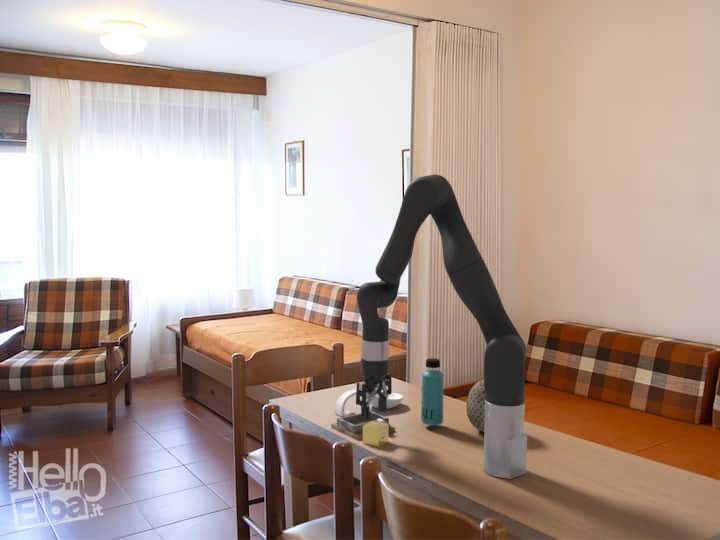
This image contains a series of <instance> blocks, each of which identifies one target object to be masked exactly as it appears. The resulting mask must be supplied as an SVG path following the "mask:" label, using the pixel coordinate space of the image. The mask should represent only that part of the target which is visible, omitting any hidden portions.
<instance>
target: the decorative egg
mask: <svg viewBox="0 0 720 540" xmlns="http://www.w3.org/2000/svg"><path fill="white" fill-rule="evenodd" d="M465 409H466V415H467V418H468V420H469V422H470V423H471V425H472V426H473V427H474V428H475V429H477V430H478V431H480V432H483V433H484V424H485V390H484V379H481V380H479V381H478V382H476V383H475V384H474V385H473V386H472V388H471V389H470V391H469V393H468V396H467V399H466V406H465Z"/></svg>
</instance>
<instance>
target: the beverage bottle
mask: <svg viewBox="0 0 720 540" xmlns="http://www.w3.org/2000/svg"><path fill="white" fill-rule="evenodd" d="M440 361H441V359H439V358H433V357H432V358H431V357H430V358H426V360H425V368H429V369H425V370H424V371H423V372H422V374H421V377H422V379H421V401H420V402H421V407H420V408H421V410H420V411H421V412H420V414H421V416H420V417H421V422H422V424H424V425H428V426H439V425H442V424H443V423H444V375H445V374H444V373H443V372H442V371H440V369H437V368H440V367H441V362H440Z"/></svg>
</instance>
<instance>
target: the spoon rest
mask: <svg viewBox="0 0 720 540" xmlns="http://www.w3.org/2000/svg"><path fill="white" fill-rule="evenodd" d="M356 389H357V388H352V389H349V390H347V391H345V392H343V394H341V395H340V397H338V399H337V400H336V403H335V405H334V410H333V412H334V413H333V414H335V415H338V416H339V417H340V418H342V417H345V416H344V414H345V407H346V403H347V402H348V400H349V399H350V398H352V397H354V396H356ZM367 394H368V393H367ZM369 395H370V394H369ZM378 398H380V397H379V396H378V394H376V395H375V396H374V399H372V400H371V403H370V406H371V405H372V407H374V408H375V409H377V410H378ZM367 400H368V398H366V401H367ZM403 400H404V396H403V395H402V394H400V393H396V392H392V393H391V395H388V398H387V402H386V410H390V409H393V408H396V407H397V406H398V405H400V404H401V403H402V402H403Z"/></svg>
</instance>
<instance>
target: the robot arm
mask: <svg viewBox="0 0 720 540" xmlns="http://www.w3.org/2000/svg"><path fill="white" fill-rule="evenodd" d="M429 216H431V218H432V220H433V221H434V224H435V225H436V228H437V230H438V232H439V235H440V240H441V245H442V257H443V259H442V260H443V266H444V268H445V273H446V275H447V276H448V278H449V280H450V282H451V284H452V287H453V289H454V291H455V293H456V294H457V296H458V297H459V298H460V300H461V301H462V303H463V304H464V306H465V307H466V308H467V310H469V312H470V313H471V314H472V316H473V317H474V318H475V320H476V322H477V324H478V326H479V328H480V331H481V334H482V335H483V339H484V341H485V344H486V346H485V347H486V348H485V351H484V357H483V358H484V359H483V380H484V390H485V424H484V432H483V433H484V434H483V435H484V436H483V471H484V472H485V473H486V474H488V475H489V476H493V477H497V478H502V479H507V480H513V479H515V478H517V477H521V476H523V475H526V474H527V460H528V459H527V454H528V451H527V450H528V436H527V434H525V433H524V432H525V404H526V403H525V399H526V397H525V394H526V391H525V365H526V363H525V362H526V358H527V346H526V343H525V341H524V339H523V338H522V337H521V335H520V332H519V331H518V330H517V328H516V326H515V325H514V324H513V321H512V320H511V319H510V317H509V315H508V314H507V311H506V309H505V307H504V305H503V303H502V300H501V297H500V295H499V292H498V289H497V287H496V284H495V281H494V280H493V278H492V276H491V275H492V274H491V273H490V271H489V267H488V266H487V265H486V263H485V259H484V258H483V256H482V254H481V253H480V251H479V249H478V247H477V244H476V243H475V240H474V238H473V236H472V233H471V232H470V229H469V228H468V225H467V224H466V222H465V219H464V217H463V214H462V211H461V208H460V206H459V203H458V199H457V197H456V194H455V192H454V189H453V187H452V185H451V184H450V182H449V181H448V180H447V178H446V177H444V176H442V175H439V174H430V175H429V174H428V175H424V176H419V177H417V178H414V179H412V181H410V182H409V184H408V185H407V187H406V190H405V192H404V196H403V198H402V201H401V206H400V209H399V212H398V215H397V218H396V221H395V224H394V227H393V229H392V233H391V235H390V236H389V240H388V242H387V243H386V246H385V248H384V249H383V252H382V254H381V256H380V258H379V260H378V262H377V263H376V267H375V275H376V276H377V278H378V279H379V281H372V282H371V281H370V282H365V283H362V284H361V285H360V286H359V288H358V290H357V292H356V302H357V303H356V304H357V307H358V311H359V316H360V318H361V319H360V320H361V323H362V334H361V335H362V336H361V337H362V339H361V340H362V341H361V347H360V348H361V349H360V351H361V352H360V373H361V374H362V375H363V376H364V379H363V381H362V382H360V381H357V383H356V388H355V389H356V395H355V405H357V406H360V413H361V419H362V420H366V421H367V420H369V419H370V411H371V409H370V408H371V407H370V406H371V404H370V403H371V400H372V399H374V396H375V395H376V394H378V396H379V397H380V398H378V409H377V410H378V412H380V413H386V412H387V409H386V402H387V398H388V395H391V393H392V390H393V389H392V377H393V376H392V373H389V372H390V342H389V339H390V336H389V334H390V325H389V323H390V322H389V320H388V319H387V318H385V317H384V316H380V315H379V313H378V309H384V308H385V309H386V308H388V307H390V306H392V305H393V304H394V302H395V301H396V300H397V297H398V294H399V288H400V284H401V279H402V277H403V275H404V272H405V271H406V269H407V266H408V265H409V263H410V262H411V258H412V256H413V254H414V253H413V251H414V246H415V241H416V237H417V234H418V231H419V230H420V228H421V226H422V224H423V223H424V222H425V221H426V220H427V218H428V217H429ZM367 393H368V394H367ZM369 394H370V395H369ZM366 398H368V400H367V399H366Z"/></svg>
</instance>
